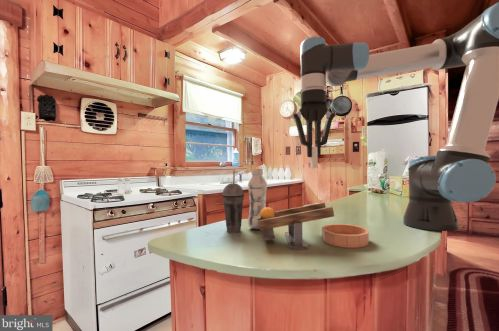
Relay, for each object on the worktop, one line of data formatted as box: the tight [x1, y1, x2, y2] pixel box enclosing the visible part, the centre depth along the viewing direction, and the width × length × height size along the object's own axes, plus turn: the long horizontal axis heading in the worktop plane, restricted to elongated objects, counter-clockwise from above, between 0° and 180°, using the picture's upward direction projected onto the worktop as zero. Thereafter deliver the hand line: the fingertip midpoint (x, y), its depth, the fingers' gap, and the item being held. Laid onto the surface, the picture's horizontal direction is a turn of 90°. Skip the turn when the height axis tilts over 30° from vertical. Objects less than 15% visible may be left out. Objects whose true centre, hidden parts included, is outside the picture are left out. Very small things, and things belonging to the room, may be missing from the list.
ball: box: [260, 206, 275, 220], centre depth 71 cm, size 4×4×4 cm
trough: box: [257, 201, 335, 242], centre depth 74 cm, size 20×15×6 cm
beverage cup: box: [221, 169, 245, 233], centre depth 83 cm, size 7×7×20 cm
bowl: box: [321, 223, 370, 249], centre depth 71 cm, size 12×12×3 cm
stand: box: [284, 222, 308, 250], centre depth 71 cm, size 4×13×6 cm, turn 179°
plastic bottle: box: [247, 168, 268, 230], centre depth 85 cm, size 6×7×20 cm
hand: (314, 167), depth 78 cm, fingers closed
